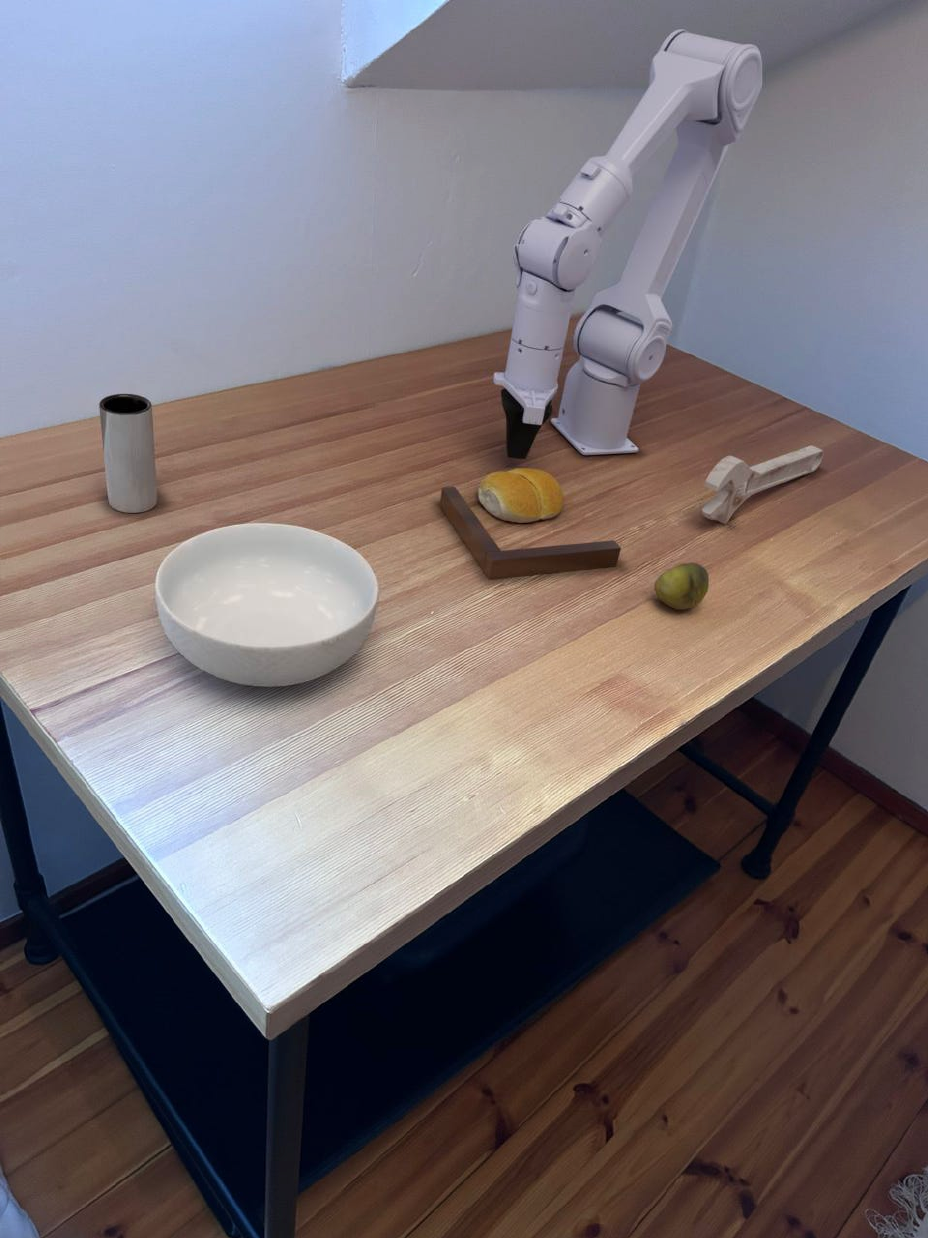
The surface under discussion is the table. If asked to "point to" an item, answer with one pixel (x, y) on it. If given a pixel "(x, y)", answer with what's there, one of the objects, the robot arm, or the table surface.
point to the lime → (682, 585)
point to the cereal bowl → (266, 602)
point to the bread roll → (521, 495)
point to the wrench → (754, 479)
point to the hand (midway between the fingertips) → (516, 455)
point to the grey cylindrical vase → (129, 452)
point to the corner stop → (521, 559)
